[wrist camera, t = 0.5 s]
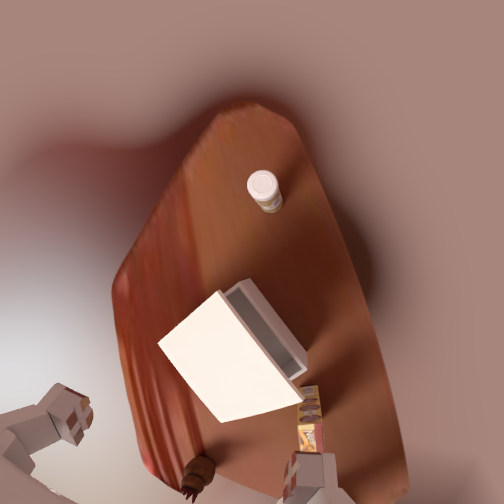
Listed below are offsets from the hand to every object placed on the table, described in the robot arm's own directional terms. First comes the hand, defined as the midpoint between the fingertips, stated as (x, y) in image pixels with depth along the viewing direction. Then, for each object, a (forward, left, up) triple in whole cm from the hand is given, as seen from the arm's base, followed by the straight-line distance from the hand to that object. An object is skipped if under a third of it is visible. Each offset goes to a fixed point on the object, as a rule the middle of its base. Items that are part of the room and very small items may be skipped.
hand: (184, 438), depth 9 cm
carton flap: (-3, +11, -32) cm, 34 cm away
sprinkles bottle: (+15, -10, -47) cm, 51 cm away
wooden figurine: (-23, +38, -47) cm, 65 cm away
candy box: (-22, +8, -47) cm, 53 cm away
